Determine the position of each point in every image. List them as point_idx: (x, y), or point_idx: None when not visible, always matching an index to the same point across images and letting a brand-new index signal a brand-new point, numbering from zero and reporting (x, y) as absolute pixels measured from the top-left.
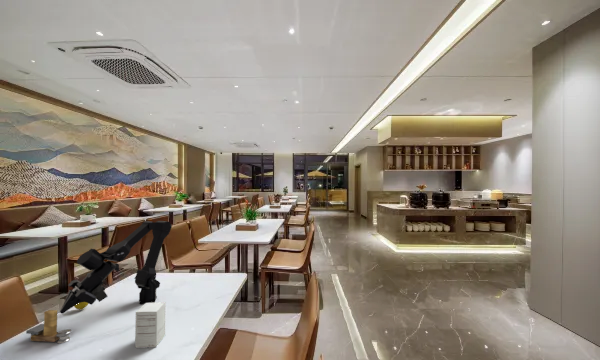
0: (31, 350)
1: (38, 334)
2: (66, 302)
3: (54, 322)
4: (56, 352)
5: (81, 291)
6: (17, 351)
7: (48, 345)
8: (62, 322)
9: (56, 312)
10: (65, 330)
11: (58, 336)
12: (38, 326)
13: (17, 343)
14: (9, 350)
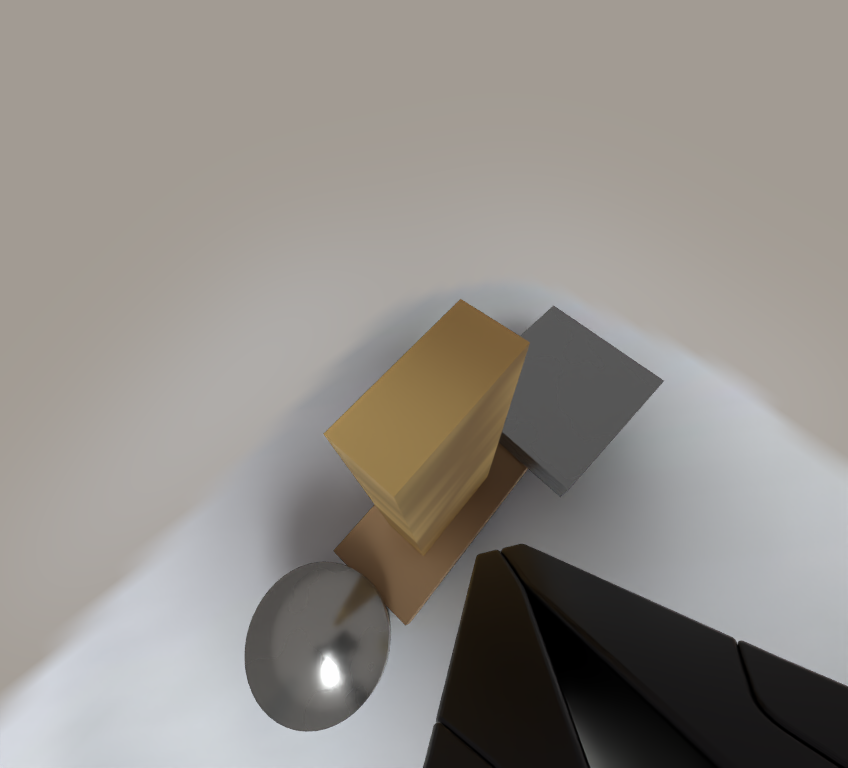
0: None
1: None
2: (429, 765)
3: (383, 509)
4: (145, 596)
5: None
6: (393, 345)
7: (339, 515)
8: (832, 567)
9: (382, 492)
10: (362, 651)
11: (275, 588)
12: (600, 372)
13: (526, 321)
14: (442, 305)
